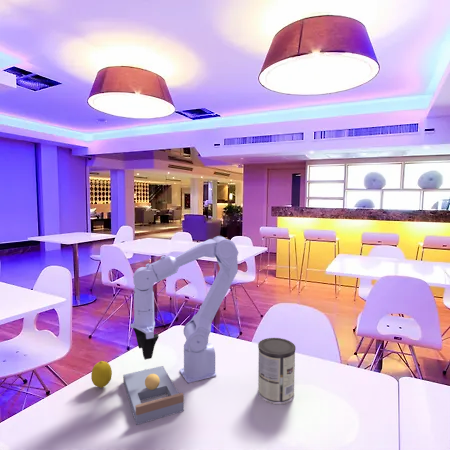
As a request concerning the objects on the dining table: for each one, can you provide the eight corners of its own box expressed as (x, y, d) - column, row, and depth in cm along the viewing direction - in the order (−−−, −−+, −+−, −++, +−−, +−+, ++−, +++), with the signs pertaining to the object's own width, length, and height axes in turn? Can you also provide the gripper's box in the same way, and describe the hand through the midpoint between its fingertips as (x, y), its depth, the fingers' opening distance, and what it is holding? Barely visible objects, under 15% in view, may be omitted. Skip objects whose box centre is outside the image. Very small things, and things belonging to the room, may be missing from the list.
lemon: (105, 394, 90) (104, 367, 89) (87, 392, 91) (86, 364, 90) (115, 383, 95) (115, 357, 95) (99, 381, 97) (98, 355, 96)
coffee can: (263, 379, 98) (264, 334, 97) (297, 388, 94) (299, 341, 93) (252, 398, 89) (253, 349, 88) (289, 409, 84) (290, 357, 83)
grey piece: (163, 373, 101) (162, 359, 101) (183, 410, 83) (183, 394, 83) (123, 382, 96) (123, 368, 96) (136, 424, 78) (136, 407, 78)
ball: (164, 381, 88) (157, 393, 88) (159, 371, 91) (153, 383, 92) (151, 379, 86) (144, 392, 86) (147, 369, 89) (140, 382, 89)
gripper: (126, 303, 100) (127, 345, 101) (135, 318, 87) (136, 367, 88) (148, 299, 103) (149, 341, 104) (160, 314, 90) (161, 361, 91)
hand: (145, 352), depth 96 cm, fingers open, 7 cm apart
